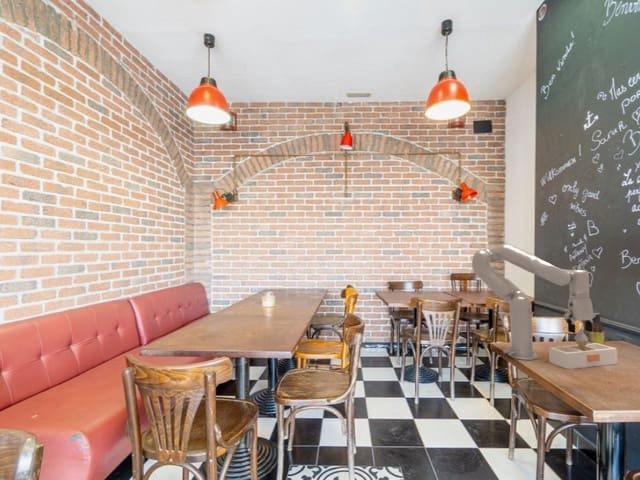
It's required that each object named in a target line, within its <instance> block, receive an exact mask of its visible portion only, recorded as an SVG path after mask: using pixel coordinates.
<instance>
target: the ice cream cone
mask: <svg viewBox="0 0 640 480" xmlns="http://www.w3.org/2000/svg"><path fill="white" fill-rule="evenodd" d="M573 338H574V340H575V342H576V345H579V347H580V350H581V351H584V347H585V346H586V345H587V344H588V342H589V340H590V337H588V336H587V334H586V333H584V331H583V330H582V328H581V329H579V331H578V333H576V335H575V336H574V337H573Z"/></svg>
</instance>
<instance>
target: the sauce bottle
mask: <svg viewBox="0 0 640 480" xmlns="http://www.w3.org/2000/svg"><path fill="white" fill-rule="evenodd" d="M595 313H596V316H595V319H594V321H593V323H592V332H590V331H588V333H589V344H591V343H598V344H601V345H605V346H606V336H605V328H604V326H603V324H602V321H601V313H599V312H595Z"/></svg>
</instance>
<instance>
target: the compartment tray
mask: <svg viewBox="0 0 640 480" xmlns="http://www.w3.org/2000/svg"><path fill="white" fill-rule="evenodd" d="M548 356H549V357H548V361H549V363H551V364H553V365H556V366H558V367H561V368H564V369H566V370H575V369H582V368H590V367H599V366H608V365H618V361H619V360H618V348H616V347H612V346H608V345H606V344H605V345H601V344H598V343H591V344H590V343H587V345H586V346H585V347H584V351H581V350H580V347H579V345H578V344H574V345H565V346H563V345H562V346H554V347H553V346H552V347H548Z"/></svg>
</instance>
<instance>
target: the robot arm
mask: <svg viewBox="0 0 640 480" xmlns="http://www.w3.org/2000/svg"><path fill="white" fill-rule="evenodd" d="M501 261H505V262H508V263H509V264H512V265H513V266H516V267H518V268H520V269H522V270H524V271H526V272H529V273H531V274H534V275H535V276H538V277H540V278H542V279H545V280H546V281H548V282H551V283H553V284H555V285H557V286H562V287H564V286H566V285H569V294H568V296H569V299H568V301H567V302H568V304H567V312H565V313H564V314H563V318H564V320H565V321H566V324H567V331H568V333H573V334H575V333H576V324H575V323H576V322H577V321H580V322H582V321H585V322H584V331H586V332H589V331H590V332H592V323H593V321H594V319H595V316H596V313H597V312H594V309H593V308H594V307H593V303H592V299H591V298H590V276H589V275H590V274H589V271H588V270H586V269H564V268H560V267H558V266H555V265H553V264H551V263H549V262H547V261H545V260H543V259H541V258H540V257H538V256H536V255H534V254H532V253H530V252H528V251H525V250H523V249H521V248H518V247H516V246H514V245H512V244H510V243H502V244H499V245H496V246H491V247H486V248H482V249H479V250H478V249H477V250H476V252H474V254H473V257H472V260H471V266H472V270H473V272H474V274H475V275H476V277H478V278H479V280H480V281H482V282H483V283H484V284H485V285H486V286H487V287H488V288H489V289H490V290H491V291H492V292H493V293H495V295H496V296H499V297H501V298H502V299H503V300H505V301H506V302H507V304H509V322H510V343H511V344H510V345H511V346H509V348H508V349H503V350H502V351H503V354H508V356H509V357H511V358H513V359H517V360H521V361H533V360H536V359H538V355H537V354H536V353H534V344H533V341H534V340H533V339H534V338H533V323H532V301H531V299H530V297H529V296H528V295H527V294H526V293H525V292H524V291H523V290H521V289H520V288H519V287H518V286H517V285H516V284H515V283H513V281H512V280H510V279H509V278H507V277H506V278H505V277H503V276H502V274H500V273H498V272H497V271H496V270H495V269H494V268H493V266H491V264H492V263H498V262H501Z"/></svg>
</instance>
